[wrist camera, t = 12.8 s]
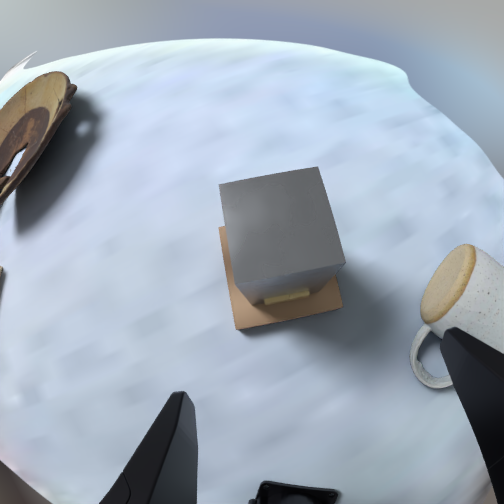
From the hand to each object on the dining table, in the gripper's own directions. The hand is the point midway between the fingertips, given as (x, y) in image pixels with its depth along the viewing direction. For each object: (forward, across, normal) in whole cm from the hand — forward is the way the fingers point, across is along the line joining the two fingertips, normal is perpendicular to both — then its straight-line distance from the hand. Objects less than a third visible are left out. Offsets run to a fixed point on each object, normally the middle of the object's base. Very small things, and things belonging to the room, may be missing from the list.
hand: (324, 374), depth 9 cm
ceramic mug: (+9, -13, +11) cm, 19 cm away
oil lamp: (+31, +33, -12) cm, 47 cm away
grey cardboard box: (+13, 0, +4) cm, 14 cm away
